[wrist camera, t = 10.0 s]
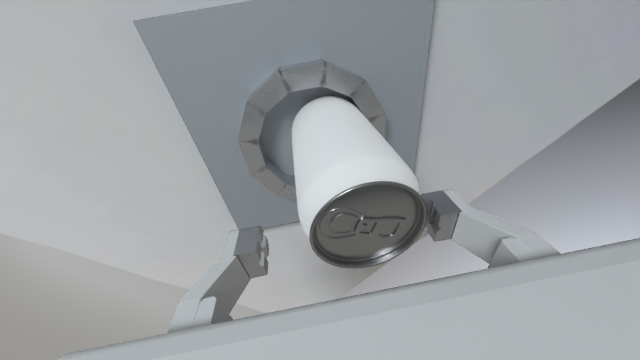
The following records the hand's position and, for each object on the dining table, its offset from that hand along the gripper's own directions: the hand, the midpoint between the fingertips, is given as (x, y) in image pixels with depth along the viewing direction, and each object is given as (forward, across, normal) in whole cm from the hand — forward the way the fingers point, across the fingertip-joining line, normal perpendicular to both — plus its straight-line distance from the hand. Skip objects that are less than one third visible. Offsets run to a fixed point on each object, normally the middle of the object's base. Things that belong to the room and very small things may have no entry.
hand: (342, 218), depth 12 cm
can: (+11, -1, 0) cm, 11 cm away
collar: (+11, 0, 0) cm, 11 cm away
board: (+12, 0, 0) cm, 12 cm away
